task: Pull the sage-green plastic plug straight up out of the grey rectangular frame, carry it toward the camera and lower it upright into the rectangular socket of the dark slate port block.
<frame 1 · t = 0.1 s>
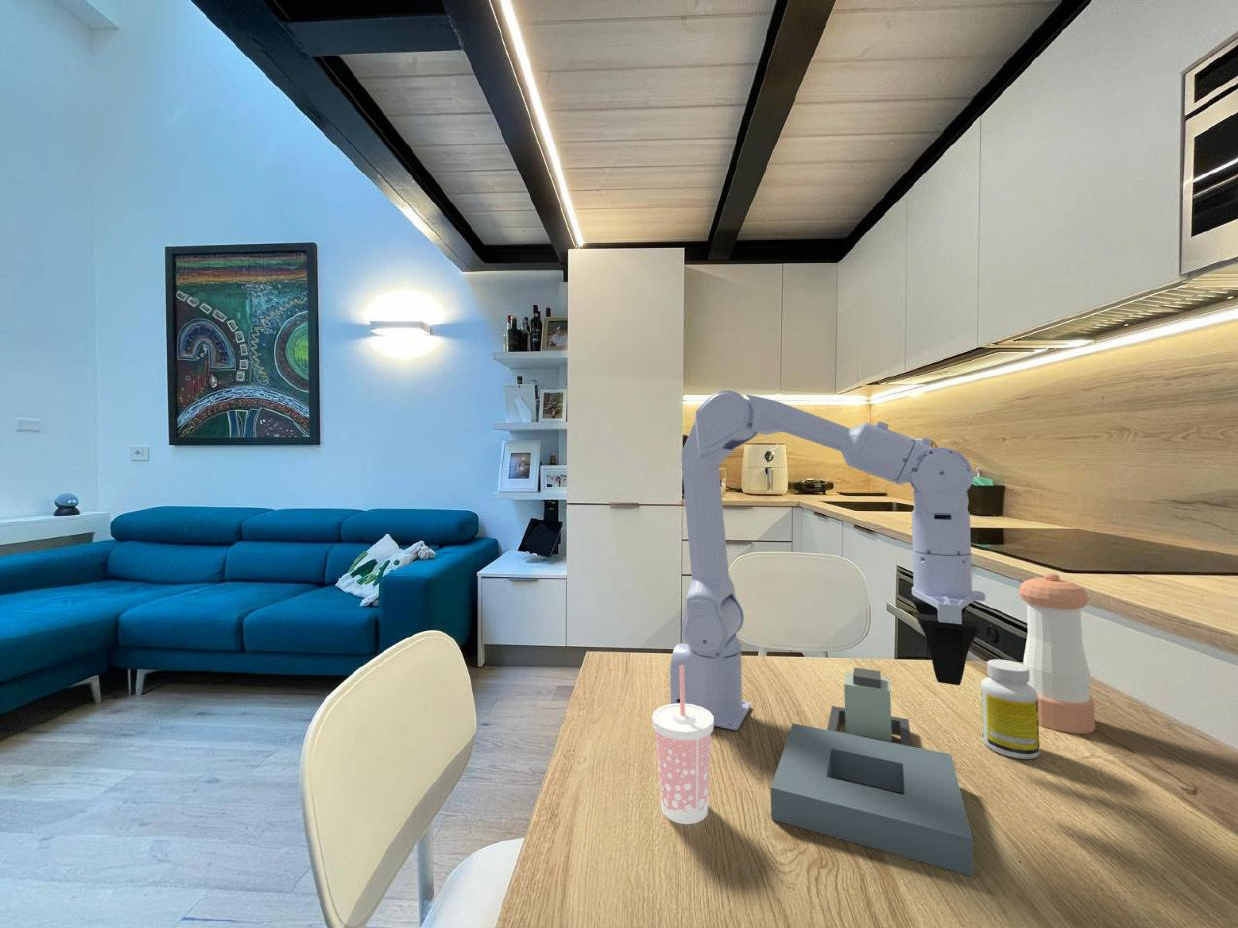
hand: (944, 670, 59), 10 cm above the table, tool pointing down, fingers open, 7 cm apart
beverage cup: (684, 810, 50), on the table
supplement bottle: (1010, 750, 60), on the table
pepper shaker: (1057, 721, 67), on the table
grey rectangular frame: (868, 738, 63), on the table
port block: (866, 800, 51), on the table
plug: (867, 705, 63), in the grey rectangular frame
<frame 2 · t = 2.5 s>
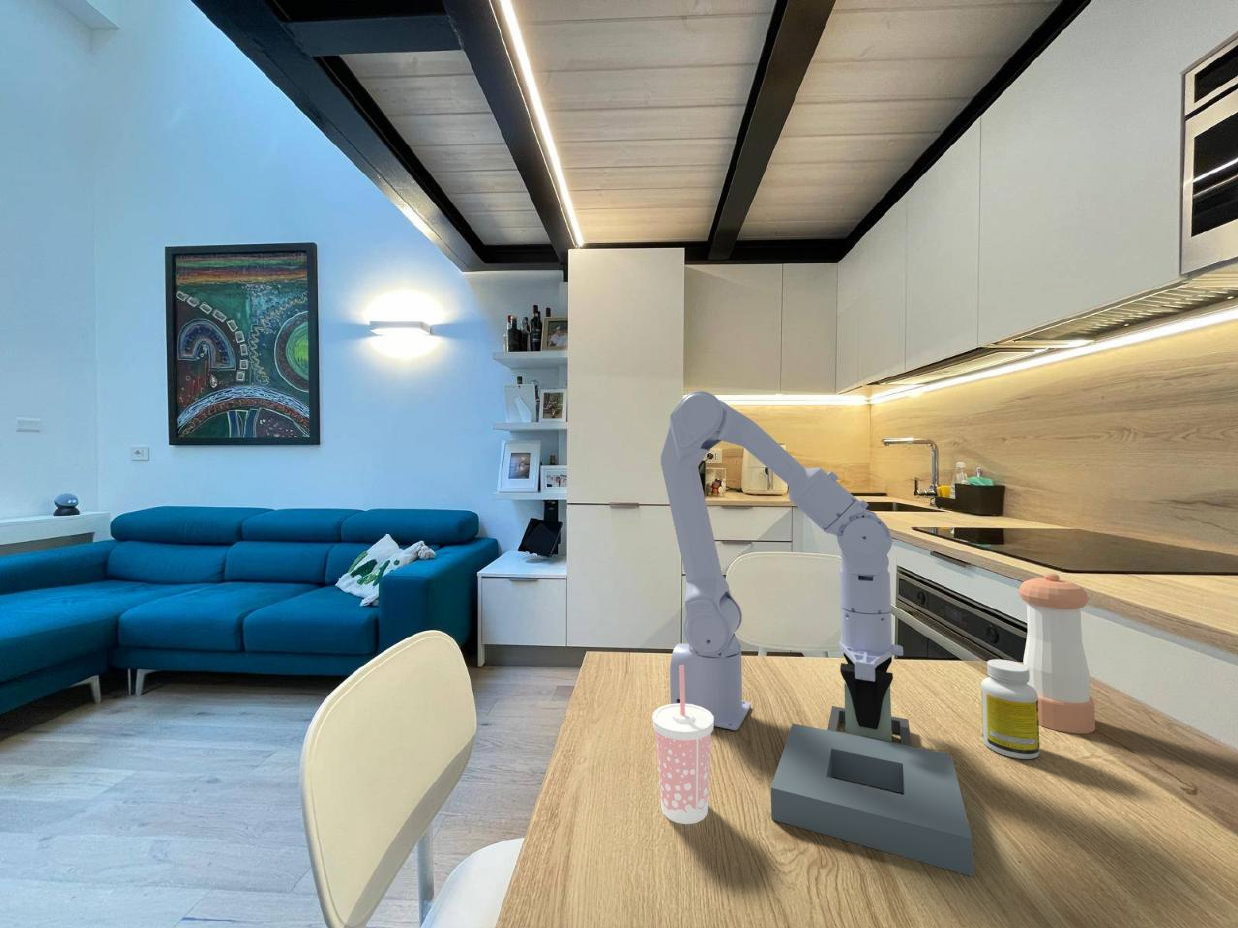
hand: (868, 718, 63), 2 cm above the table, tool pointing down, fingers closed on plug, 4 cm apart
plug: (867, 705, 63), in the grey rectangular frame, touching gripper
everything else where it was.
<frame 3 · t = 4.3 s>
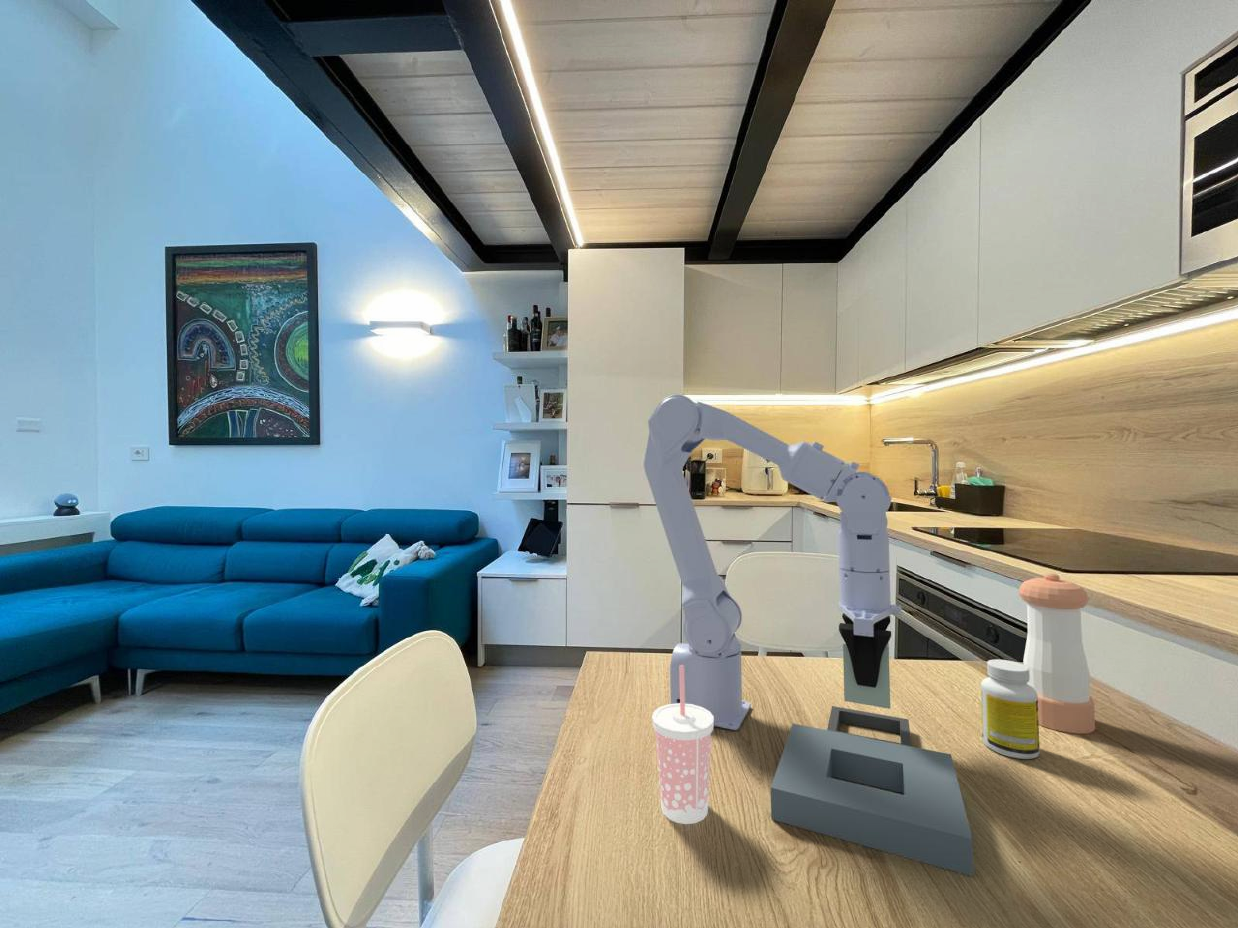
hand: (866, 678, 63), 7 cm above the table, tool pointing down, fingers closed on plug, 4 cm apart
plug: (866, 665, 63), point 9 cm above the table, touching gripper
everything else where it was.
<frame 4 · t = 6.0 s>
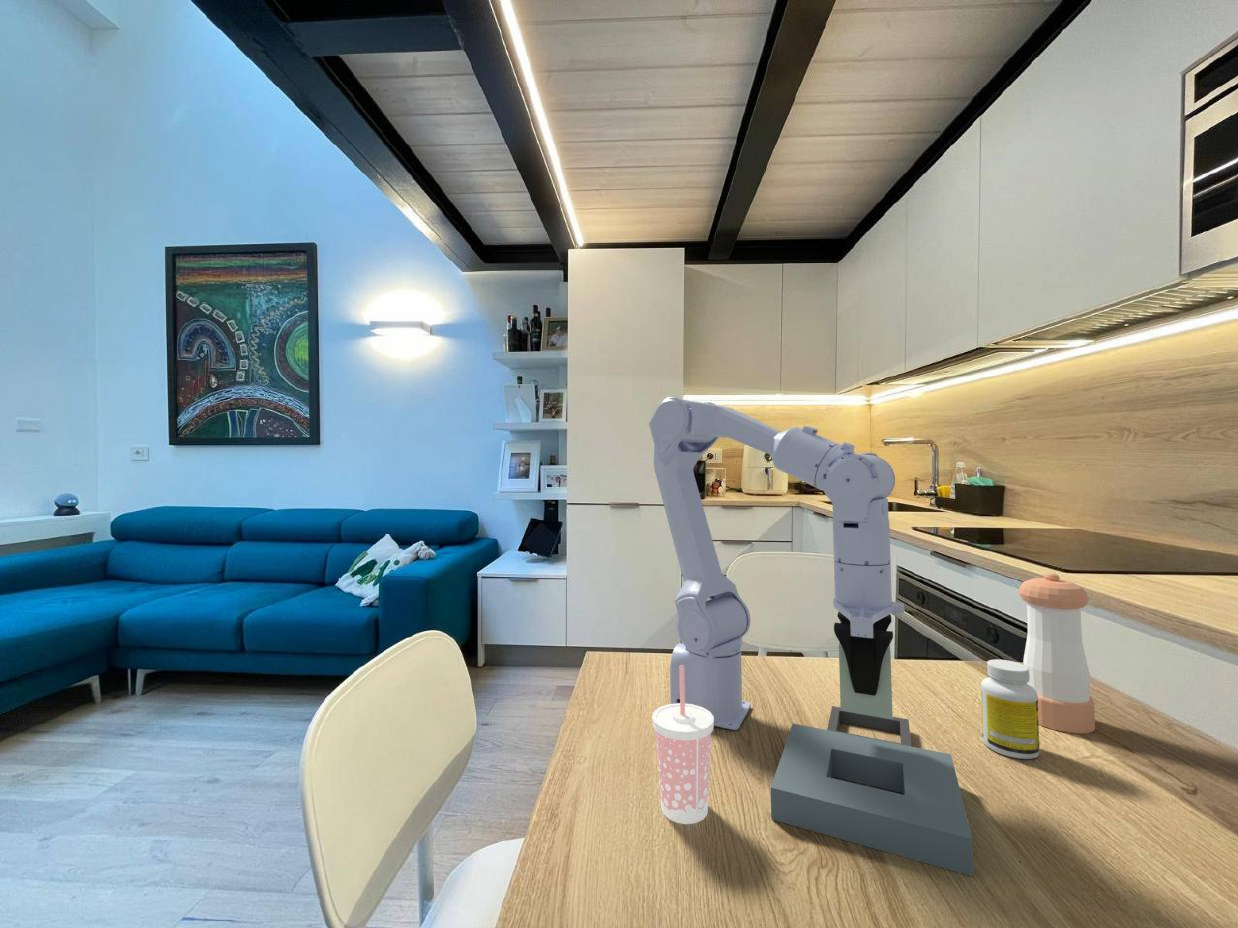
hand: (865, 684, 56), 9 cm above the table, tool pointing down, fingers closed on plug, 4 cm apart
plug: (865, 670, 56), point 11 cm above the table, touching gripper
everything else where it was.
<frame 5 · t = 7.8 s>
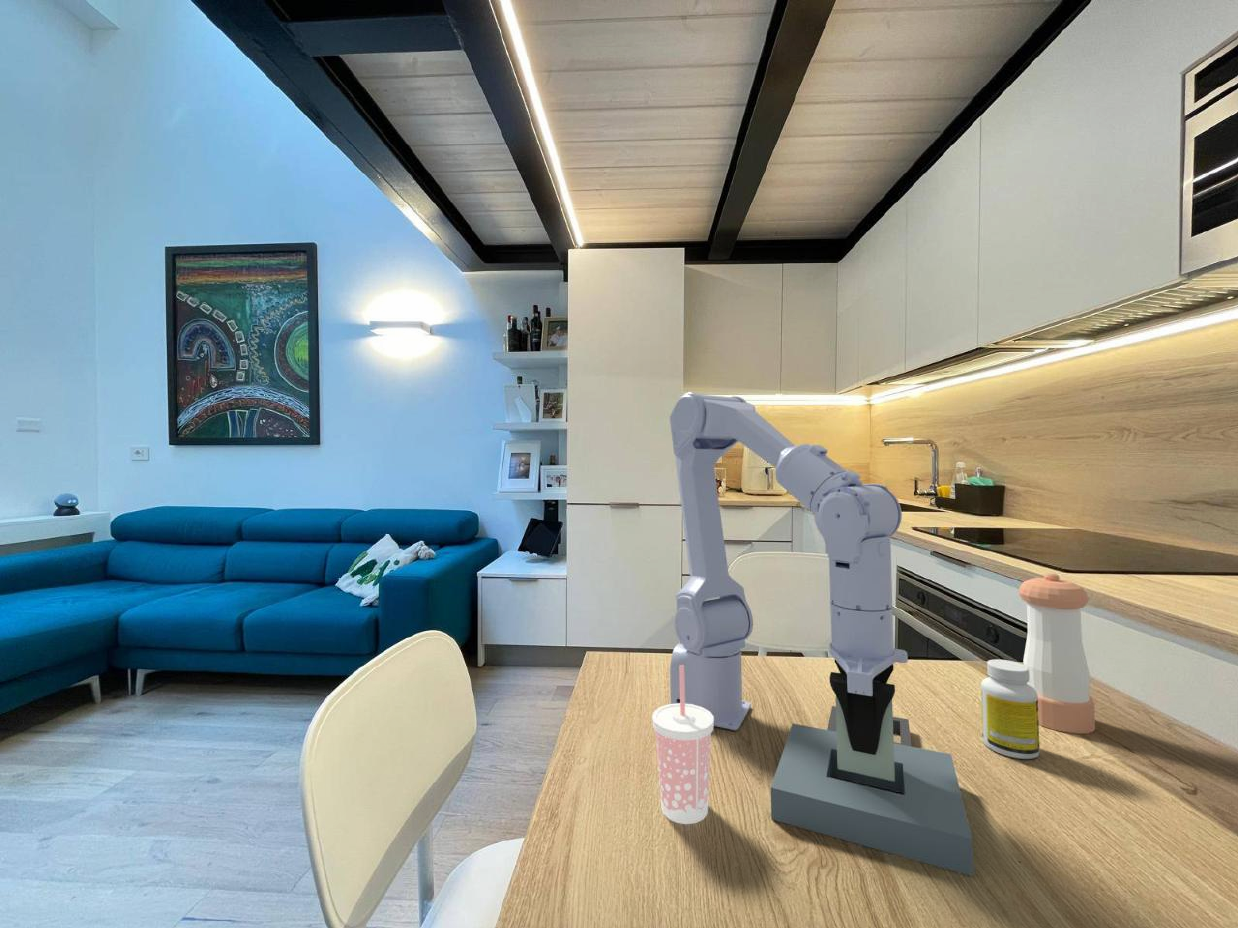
hand: (864, 740, 51), 6 cm above the table, tool pointing down, fingers closed on plug, 4 cm apart
plug: (864, 724, 51), point 8 cm above the table, touching gripper
everything else where it was.
when the fingers open (4 cm above the table, at t = 9.4 s): plug drops 2 cm, resting in port block.
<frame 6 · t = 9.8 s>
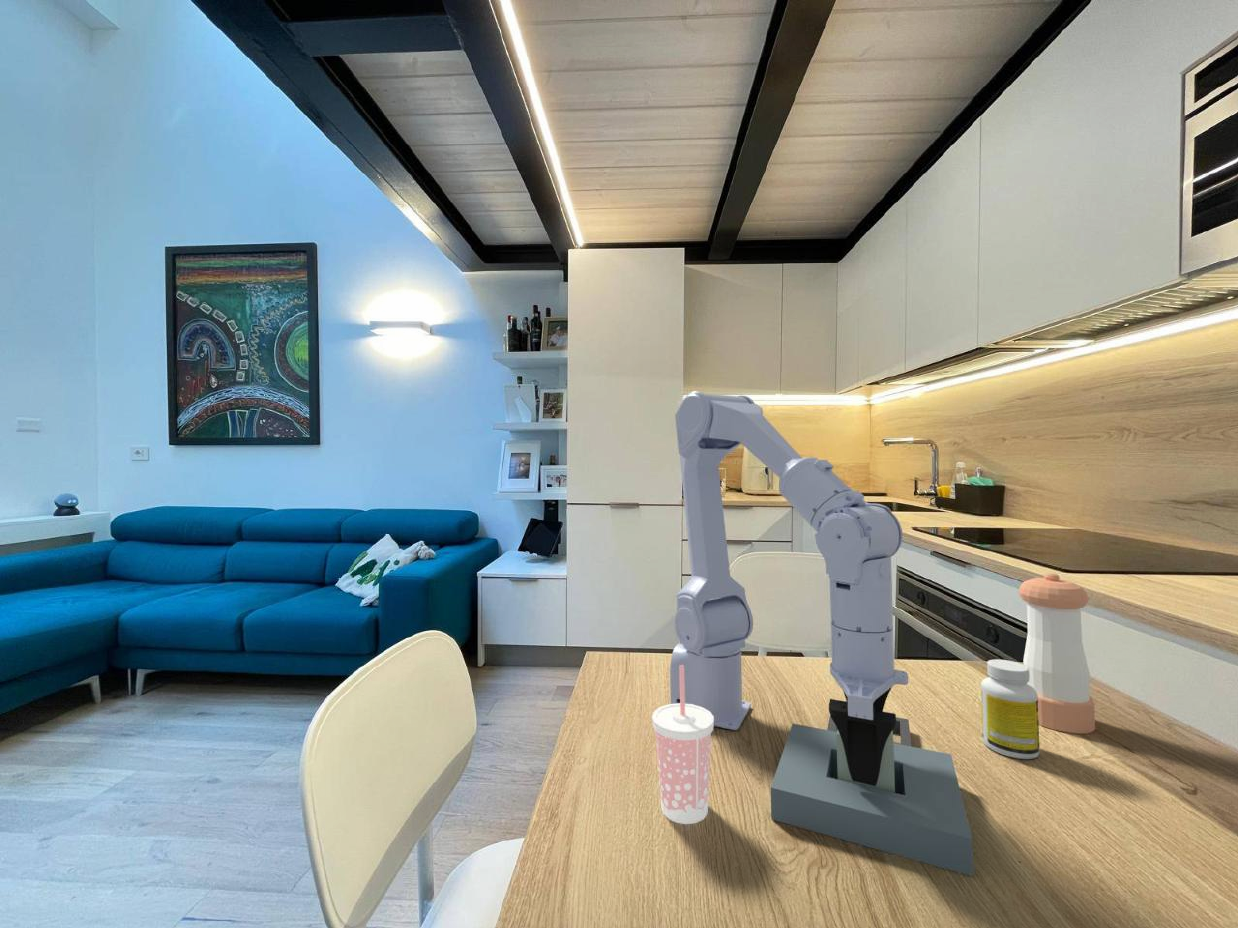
hand: (865, 760, 51), 4 cm above the table, tool pointing down, fingers open, 7 cm apart
plug: (865, 760, 51), in the port block
everything else where it was.
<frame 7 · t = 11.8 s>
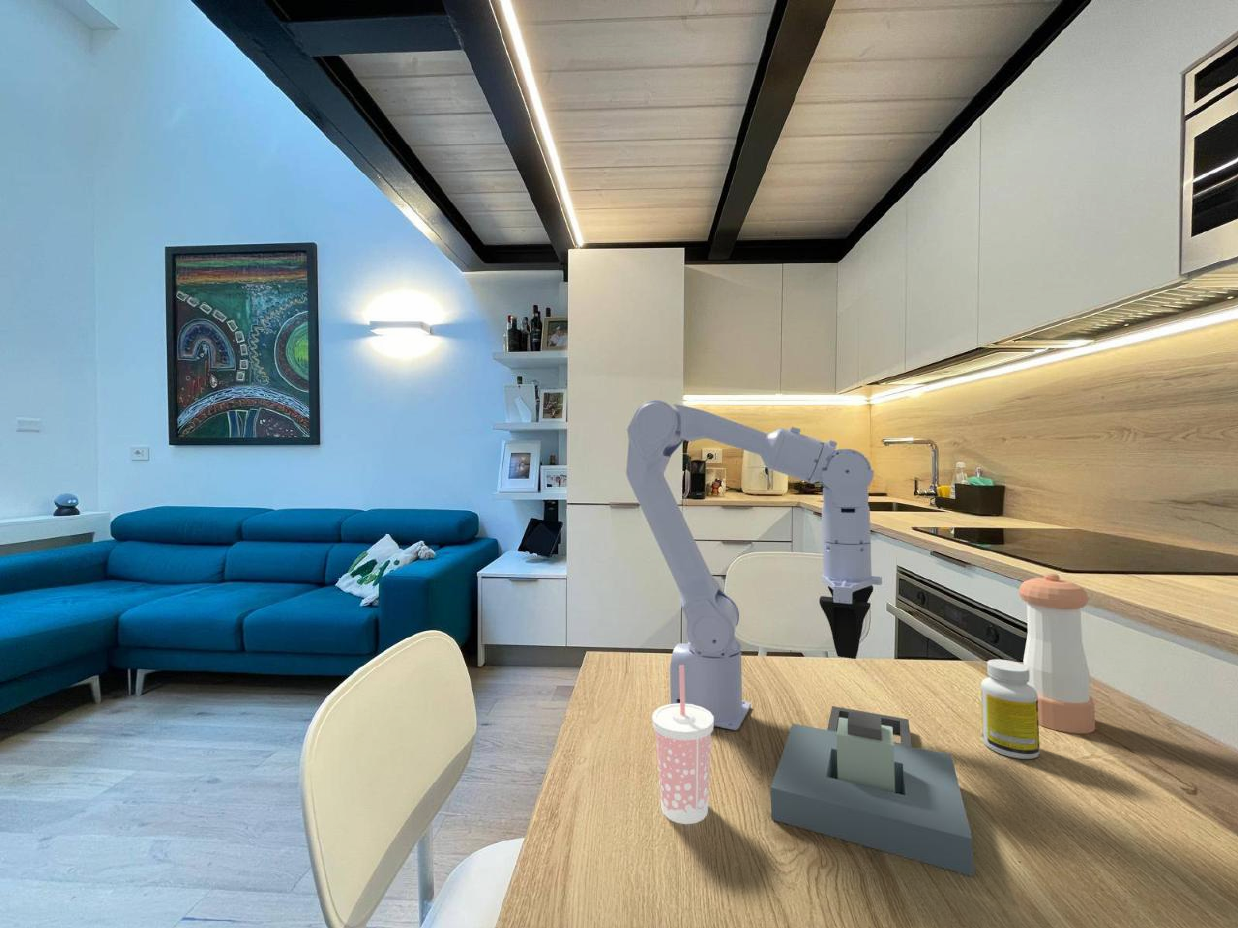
hand: (849, 647, 66), 10 cm above the table, tool pointing down, fingers open, 7 cm apart
nothing on the table moved.
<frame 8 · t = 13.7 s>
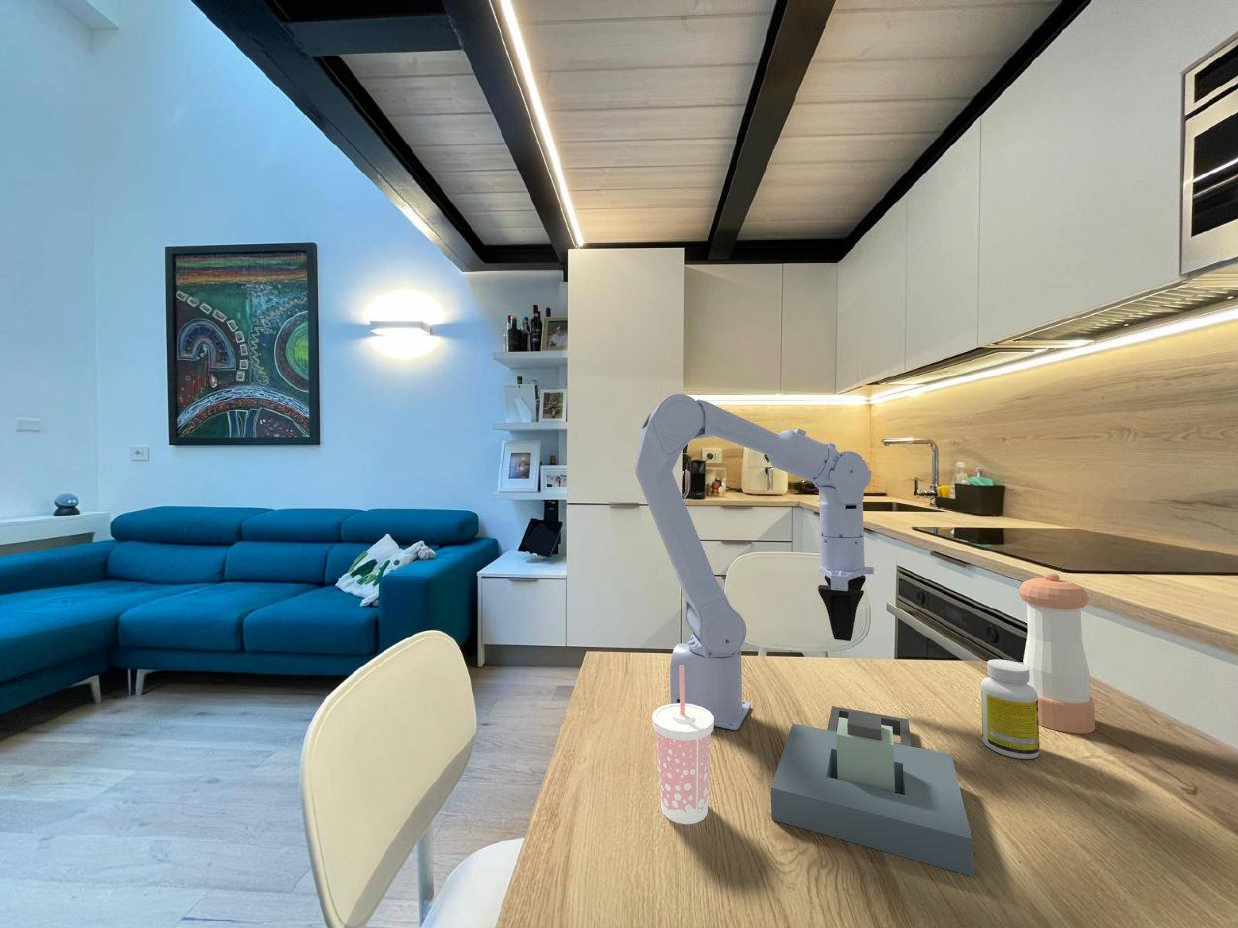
hand: (844, 631, 72), 10 cm above the table, tool pointing down, fingers open, 7 cm apart
nothing on the table moved.
at the end: plug 0.0 cm off-centre on the port block, point 3.9 cm above the port block's base; plug tilted 0°; the gripper is holding nothing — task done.
